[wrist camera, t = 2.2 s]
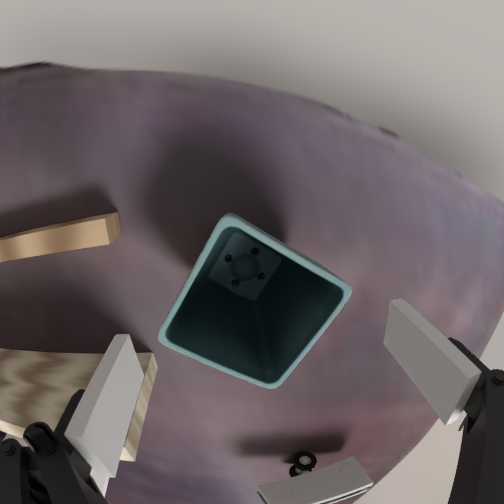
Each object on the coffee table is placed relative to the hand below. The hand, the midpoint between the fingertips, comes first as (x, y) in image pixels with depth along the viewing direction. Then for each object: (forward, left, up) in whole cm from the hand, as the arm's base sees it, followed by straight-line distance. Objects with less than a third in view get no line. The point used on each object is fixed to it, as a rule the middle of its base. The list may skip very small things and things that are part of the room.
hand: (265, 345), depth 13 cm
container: (-27, -21, -12) cm, 37 cm away
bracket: (+13, -33, -9) cm, 36 cm away
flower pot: (0, 0, -12) cm, 12 cm away
